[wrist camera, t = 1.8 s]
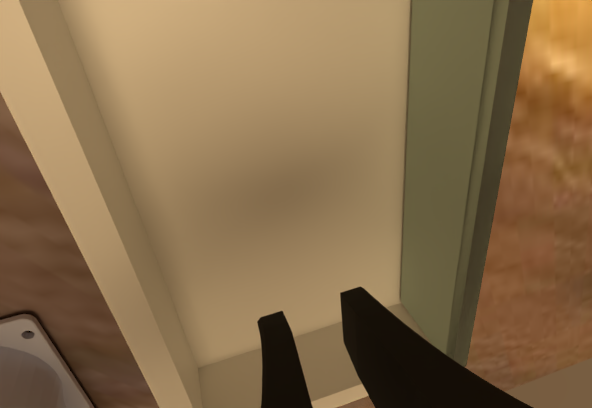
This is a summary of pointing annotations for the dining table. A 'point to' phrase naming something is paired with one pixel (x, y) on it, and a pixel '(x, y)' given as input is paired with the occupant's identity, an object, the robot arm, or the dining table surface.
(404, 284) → the panel
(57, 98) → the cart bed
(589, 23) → the dining table surface
